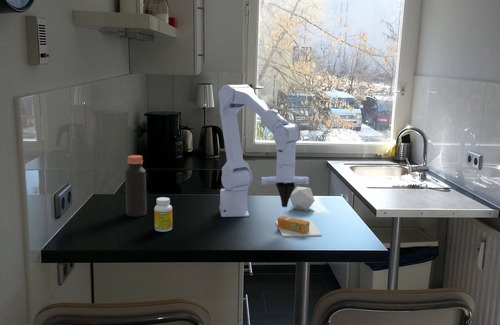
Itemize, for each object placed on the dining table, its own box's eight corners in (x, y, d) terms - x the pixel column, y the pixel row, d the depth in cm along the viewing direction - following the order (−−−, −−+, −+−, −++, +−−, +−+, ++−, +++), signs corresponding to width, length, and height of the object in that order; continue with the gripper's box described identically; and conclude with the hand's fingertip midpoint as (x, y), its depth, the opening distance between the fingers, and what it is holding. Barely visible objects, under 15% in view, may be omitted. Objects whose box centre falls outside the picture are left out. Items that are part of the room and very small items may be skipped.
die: (317, 209, 181) (307, 185, 184) (318, 203, 173) (307, 179, 176) (296, 217, 181) (286, 193, 184) (296, 212, 172) (286, 187, 176)
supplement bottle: (157, 232, 151) (157, 202, 149) (152, 227, 155) (152, 197, 153) (174, 230, 153) (174, 200, 151) (169, 225, 158) (168, 195, 156)
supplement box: (276, 217, 155) (305, 223, 150) (282, 215, 158) (310, 221, 153) (276, 228, 156) (304, 234, 151) (282, 225, 159) (310, 231, 153)
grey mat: (282, 236, 149) (282, 235, 149) (275, 222, 163) (275, 220, 163) (321, 235, 151) (321, 234, 151) (311, 221, 164) (311, 220, 164)
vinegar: (132, 218, 164) (130, 159, 160) (122, 213, 169) (120, 156, 165) (150, 214, 168) (149, 156, 164) (140, 210, 173) (139, 153, 169)
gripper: (264, 166, 148) (263, 210, 150) (311, 166, 149) (310, 209, 152) (261, 161, 154) (260, 203, 157) (306, 161, 156) (305, 203, 159)
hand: (284, 206), depth 155 cm, fingers closed
